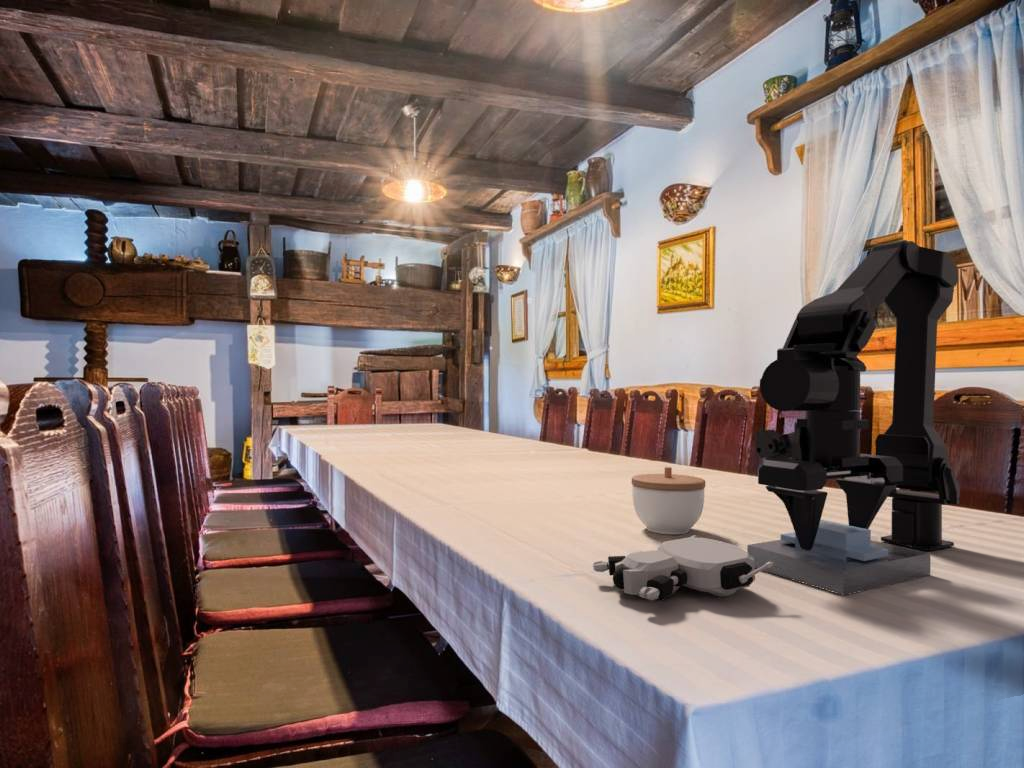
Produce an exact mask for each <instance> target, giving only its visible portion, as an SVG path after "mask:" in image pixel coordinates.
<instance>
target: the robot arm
mask: <svg viewBox="0 0 1024 768" xmlns="http://www.w3.org/2000/svg"><path fill="white" fill-rule="evenodd" d="M958 279H959V268H958V266H957V263H956V261H954V259H953V258H951V257H950V256H949V255H948V254H946V253H945V252H944V251H942V250H938V249H934V248H933V249H932V248H928V247H924V246H919V245H918V244H917V243H916V242H915V241H913V240H909V241H908V240H907V239H906V240H905V239H902V240H898V241H892V242H887V243H881V244H880V243H879V244H876V245H874V246H873V247H870V248H869V249H868V250H867V252H866V256H865V258H864V259H863V260H862V261H861V262H860V264H859V265H858V266H857V267H856V268H855V269H854V270H853V272H851V273H850V274H849V276H847V278H846V279H845V280H844V281H843V282H842V284H840V285H839V286H838V288H837V289H835V290H834V291H833V292H832V293H829V294H827V295H823V296H821V297H818V298H816V299H815V298H814V299H813V300H812V301H810V302H809V303H807V304H805V305H804V306H803V307H801V309H799V312H797V315H796V318H795V320H794V321H793V324H792V326H791V328H790V331H789V333H788V334H787V335H788V336H787V337H786V340H785V342H784V344H783V346H782V348H777V350H776V359H775V360H774V361H772V362H771V363H769V364H768V365H767V367H766V368H765V369H764V371H763V372H762V376H761V378H760V380H759V391H760V395H761V396H762V398H763V400H764V402H765V403H766V404H767V405H768V406H769V407H770V408H771V409H774V410H776V411H780V412H804V418H796V421H795V422H794V429H793V430H794V431H793V432H792V431H791V432H789V433H782V434H778V432H777V431H776V430H775V429H762V430H761V431H760V430H759V431H758V432H756V433H755V437H754V438H755V439H754V454H755V455H756V456H757V457H759V458H760V459H763V461H762V462H761V463H760V464H759V465H758V466H757V484H758V485H761V486H765V489H766V490H767V491H768V492H770V493H774V495H775V496H776V497H777V498H779V499H780V501H782V503H783V505H784V507H785V509H786V511H787V513H788V516H789V519H790V522H791V524H792V527H793V530H794V532H795V533H796V536H797V539H798V542H799V545H800V548H801V549H803V550H807V551H810V550H811V549H812V547H813V544H814V541H815V538H816V534H817V531H818V527H819V523H820V520H822V515H823V512H824V507H825V505H826V501H827V497H828V492H827V491H822V490H823V489H824V487H825V485H826V483H827V481H828V480H833V479H835V481H836V483H837V484H838V485H839V487H840V488H841V490H842V491H843V492H844V494H845V497H846V499H845V500H846V508H847V518H848V520H847V521H848V525H849V526H854V527H859V528H864V529H869V530H870V527H871V526H872V524H873V521H874V520H875V518H876V516H877V514H878V513H879V511H880V509H881V507H882V506H883V505H884V503H885V502H886V500H887V498H891V529H890V530H891V535H885V536H880V542H884V543H889V544H894V545H898V546H900V545H901V546H903V547H908V548H912V549H913V548H914V549H917V550H921V551H923V550H924V551H927V552H928V551H935V550H939V549H946V548H949V547H955V542H954V541H950V540H945V539H943V505H944V506H948V505H959V503H960V497H961V492H960V490H961V486H960V484H959V481H958V478H957V476H956V473H955V472H954V469H953V467H952V465H951V461H949V458H948V447H947V445H946V444H945V442H944V441H943V439H942V437H941V436H940V434H939V433H938V431H937V430H936V428H935V426H934V419H935V418H934V413H935V392H936V391H935V388H936V387H935V385H936V365H937V364H936V363H937V343H938V342H937V340H938V339H937V338H938V336H937V334H938V322H939V320H940V318H941V317H942V316H943V315H944V313H945V312H946V311H947V309H948V308H949V307H950V305H951V304H952V303H953V298H954V289H955V287H956V286H957V284H958V282H959V281H958ZM883 302H884V303H885V305H886V307H887V308H888V309H889V311H890V312H891V313H892V315H893V317H894V318H895V319H896V320H895V321H896V325H895V326H896V327H895V330H896V331H895V345H894V346H895V349H894V353H895V354H894V369H893V370H894V371H893V395H892V396H893V397H892V413H891V414H892V415H891V418H892V419H891V424H890V425H889V426H888V428H886V430H885V432H884V433H878V435H877V436H876V438H875V454H868V453H861V430H868V429H870V428H869V427H870V425H869V422H870V421H869V419H861V373H864V372H865V373H866V371H867V366H866V364H865V363H864V362H863V361H862V360H861V359H860V358H858V355H859V354H860V353H861V352H862V351H863V350H864V348H866V346H867V345H868V343H869V341H870V339H872V337H873V334H874V332H875V330H876V323H875V319H874V317H873V315H874V313H875V312H876V310H877V309H878V308H879V307H880V305H881V304H882V303H883ZM937 492H938V494H937Z"/></svg>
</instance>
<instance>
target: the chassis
mask: <svg viewBox="0 0 1024 768" xmlns="http://www.w3.org/2000/svg"><path fill="white" fill-rule="evenodd" d="M746 546H747V549H746V550H747V551H746V552H747V553H748V554H749V555H751V556H752V557H753V559H754V566H755V568H756V569H758V568H760V567H762V566H764V565H765V564H766V563H767V562H773V565H772V566H771V567H769V568H766V569H764V570H762V571H761V572H765V573H768V572H769V574H772V575H775V574H776V575H775V576H778V575H780V576H779V577H781V576H784V577H783V578H785V577H787V578H786V579H788V578H790V579H789V580H791V579H794V580H797V581H800V582H799V583H801V582H804V583H807V584H810V585H814V586H818V587H821V588H824V589H827V590H830V591H834V592H837V593H839V594H843V595H844V594H848V595H850V594H849V593H852V594H855V593H854V592H856V593H859V592H858V591H861V592H863V591H862V590H865V591H868V590H867V589H869V590H873V589H877V588H881V586H882V587H885V585H886V586H889V584H890V585H893V584H894V585H895V584H897V583H902V582H901V581H903V582H906V581H905V580H907V581H911V580H914V578H915V579H920V578H924V577H928V576H931V552H928V551H925V550H924V551H923V550H920V549H916V548H914V549H913V548H911V547H906V546H902V545H901V546H900V545H897V544H893V543H888V542H883V541H877V540H873V539H871V546H874V547H878V548H883V549H887V550H888V556H887V557H882V558H877V559H872V560H867V561H862V560H857V561H852V562H847V561H843V560H839V559H835V558H831V557H828V556H824V555H820V554H816V553H812V552H808V551H804V550H800V549H796V548H795V544H794V543H790V542H786V541H782V540H781V539H777V540H771V541H765V542H764V541H763V542H758V543H752V544H751V543H749V544H747V545H746ZM756 569H755V570H756ZM910 579H911V580H910ZM794 580H793V581H794ZM797 581H796V582H797ZM804 583H803V584H804ZM807 584H806V585H807ZM810 585H809V586H810ZM814 586H813V587H814ZM876 587H877V588H876ZM872 588H873V589H872ZM830 591H829V592H830ZM839 594H838V595H839ZM843 595H842V596H843ZM844 596H845V595H844Z"/></svg>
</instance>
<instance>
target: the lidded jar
mask: <svg viewBox="0 0 1024 768" xmlns="http://www.w3.org/2000/svg"><path fill="white" fill-rule="evenodd" d="M672 469H673V468H672V467H671V466H665V467H664V473H643V474H636V475H633V476H632V477H631V484H632V486H631V488H632V489H631V491H632V493H631V494H632V495H631V496H632V502H633V506H634V511H635V513H636V515H637V518H638V519H639V521H640V522H641V523H642V524H643V525H644V526H645V527H646V530H647V531H648V532H651V533H655V534H659V535H660V534H661V535H671V536H672V535H673V536H674V535H685V534H688V533H689V532H690V529H691V528H693V527H694V526H695V525H696V524H697V522H698V521H699V520H700V518H701V516H702V513H703V509H704V503H705V488H706V480H705V479H704V478H702V477H698V476H694V475H693V476H692V475H687V474H686V475H685V474H676V473H675V474H673V472H672Z"/></svg>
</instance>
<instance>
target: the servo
mask: <svg viewBox="0 0 1024 768" xmlns="http://www.w3.org/2000/svg"><path fill="white" fill-rule="evenodd" d="M871 534H872V533H871V529H870V528H869V529H864V528H859V527H854V526H849V524H844V523H839V522H834V521H830V520H824V519H821V520H820V523H819V527H818V531H817V534H816V538H815V541H814V544H813V547H812V549H811V550H810V551H808V552H812V553H816V554H820V555H824V556H828V557H831V558H835V559H839V560H843V561H847V562H852V561H857V560H862V561H867V560H872V559H877V558H882V557H887V556H888V550H887V549H883V548H878V547H874V546H871V540H872V539H871ZM780 540H782V541H786V542H790V543H794V544H795V548H796V549H800V550H803V549H801V548H800V545H799V542H798V539H797V536H796V533H795V531H794V532H788V533H781V534H780ZM804 551H807V550H804Z"/></svg>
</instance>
